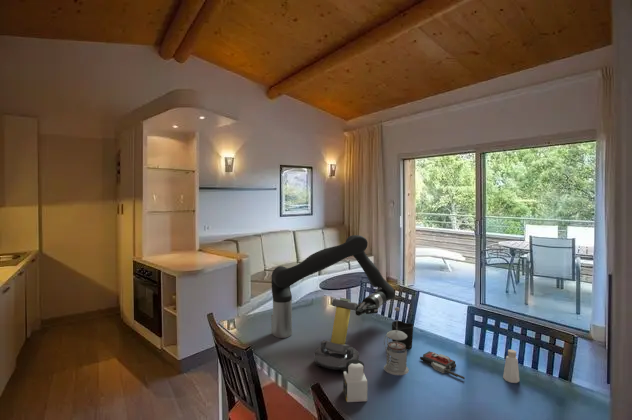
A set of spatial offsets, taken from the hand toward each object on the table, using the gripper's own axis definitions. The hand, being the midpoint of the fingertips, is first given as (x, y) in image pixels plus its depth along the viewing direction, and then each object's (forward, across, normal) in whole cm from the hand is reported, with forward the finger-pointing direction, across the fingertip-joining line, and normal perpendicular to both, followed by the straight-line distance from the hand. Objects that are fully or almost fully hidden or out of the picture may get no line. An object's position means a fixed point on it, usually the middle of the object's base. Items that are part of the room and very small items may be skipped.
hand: (357, 313), depth 160 cm
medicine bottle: (+36, +16, +16) cm, 42 cm away
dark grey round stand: (+19, 0, +15) cm, 25 cm away
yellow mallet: (+19, 0, +9) cm, 22 cm away
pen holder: (-12, +17, +16) cm, 26 cm away
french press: (+10, +21, +16) cm, 28 cm away
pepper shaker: (-5, +61, +16) cm, 63 cm away
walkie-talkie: (-1, +38, +16) cm, 41 cm away
